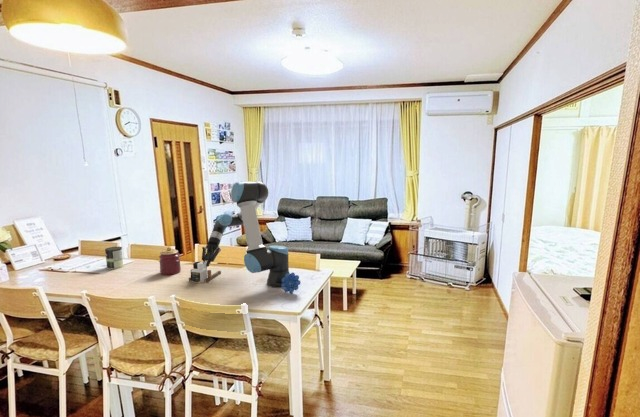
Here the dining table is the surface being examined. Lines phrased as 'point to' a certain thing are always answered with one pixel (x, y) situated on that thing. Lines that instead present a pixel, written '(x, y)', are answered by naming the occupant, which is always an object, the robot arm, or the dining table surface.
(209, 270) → the guide channel
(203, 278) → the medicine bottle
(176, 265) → the canister
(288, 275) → the grapes
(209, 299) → the dining table surface
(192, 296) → the dining table surface
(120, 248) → the coffee can
